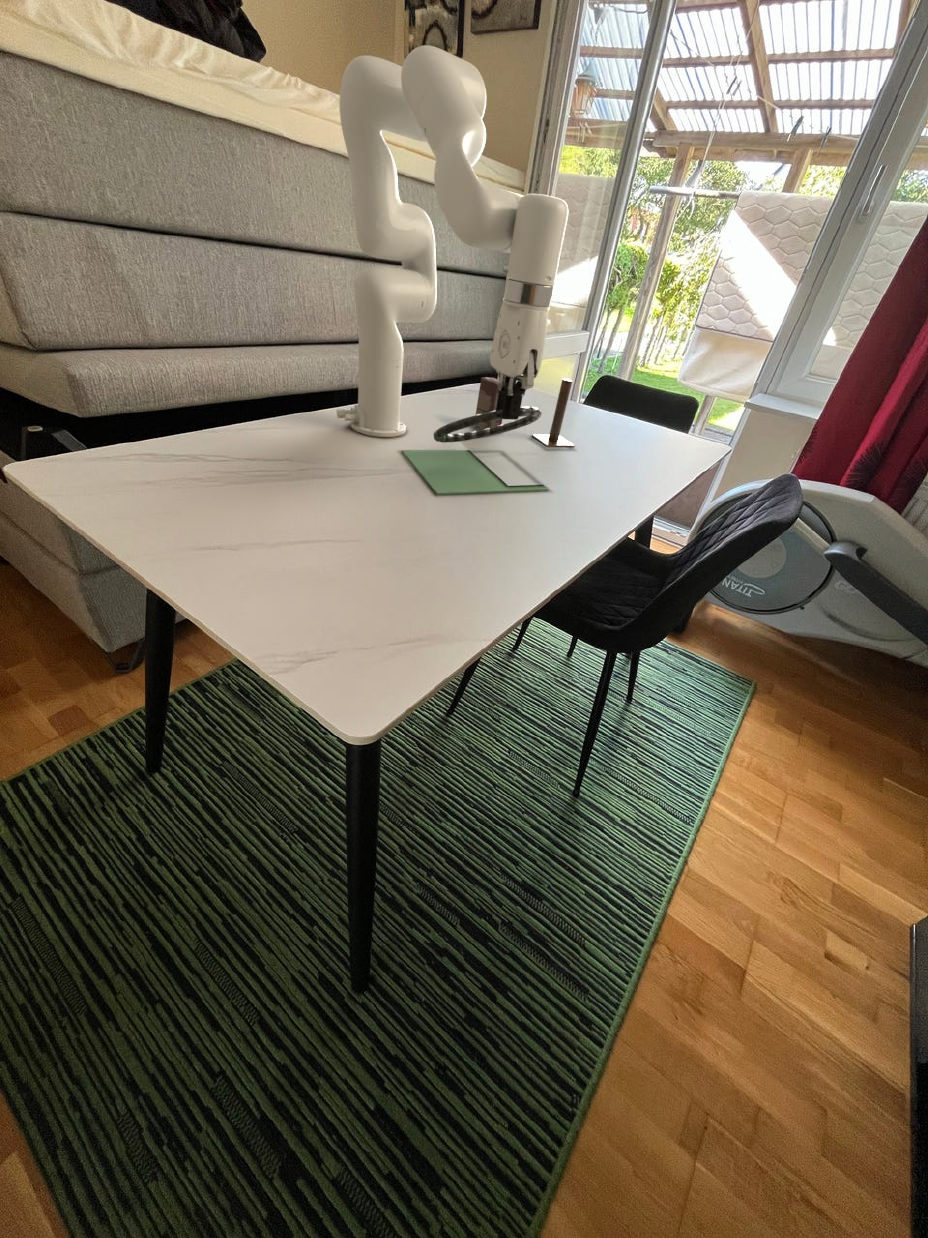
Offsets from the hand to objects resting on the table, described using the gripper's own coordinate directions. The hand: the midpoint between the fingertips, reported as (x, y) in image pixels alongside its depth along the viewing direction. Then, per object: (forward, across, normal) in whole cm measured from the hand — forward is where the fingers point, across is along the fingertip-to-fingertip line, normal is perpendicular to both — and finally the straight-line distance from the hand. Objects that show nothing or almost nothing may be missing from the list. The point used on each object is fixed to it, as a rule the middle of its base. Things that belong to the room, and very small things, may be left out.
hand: (506, 416), depth 92 cm
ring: (+4, -8, +1) cm, 10 cm away
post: (+14, -26, +29) cm, 41 cm away
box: (+14, -36, +15) cm, 42 cm away
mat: (+14, -10, 0) cm, 17 cm away
